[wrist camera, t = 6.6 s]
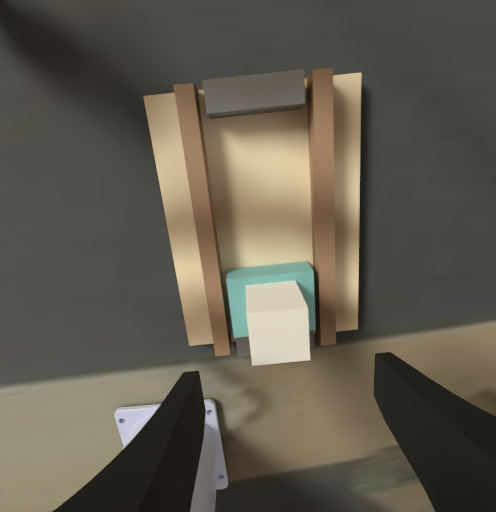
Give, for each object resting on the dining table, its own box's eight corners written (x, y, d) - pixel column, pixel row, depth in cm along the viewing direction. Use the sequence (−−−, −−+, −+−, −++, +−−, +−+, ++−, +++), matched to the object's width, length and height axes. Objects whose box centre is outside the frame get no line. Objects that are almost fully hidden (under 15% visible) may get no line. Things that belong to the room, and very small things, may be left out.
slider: (309, 315, 20) (331, 366, 15) (234, 323, 20) (232, 375, 15) (307, 261, 19) (330, 295, 14) (227, 269, 19) (222, 306, 14)
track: (352, 322, 22) (368, 344, 19) (191, 337, 22) (184, 361, 19) (354, 77, 17) (375, 61, 14) (148, 99, 17) (131, 88, 14)
